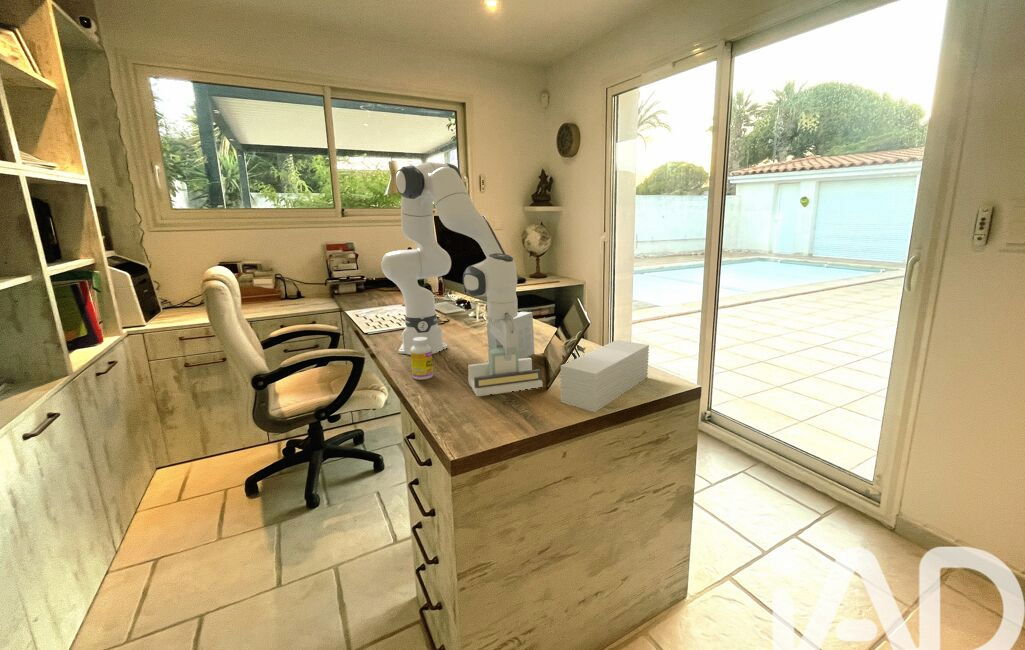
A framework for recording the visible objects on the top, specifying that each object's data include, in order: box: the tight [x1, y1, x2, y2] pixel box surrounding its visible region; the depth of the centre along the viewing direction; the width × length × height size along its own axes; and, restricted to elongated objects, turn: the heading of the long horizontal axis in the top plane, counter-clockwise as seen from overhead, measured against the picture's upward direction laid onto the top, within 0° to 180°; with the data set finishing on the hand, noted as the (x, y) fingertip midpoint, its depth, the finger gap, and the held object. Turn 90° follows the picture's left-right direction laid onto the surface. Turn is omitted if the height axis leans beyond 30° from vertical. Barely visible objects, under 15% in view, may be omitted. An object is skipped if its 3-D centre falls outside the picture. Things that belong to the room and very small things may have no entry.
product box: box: [487, 348, 519, 375], centre depth 132 cm, size 8×5×9 cm, turn 107°
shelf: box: [467, 357, 543, 397], centre depth 133 cm, size 12×20×6 cm, turn 107°
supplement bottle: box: [410, 337, 434, 381], centre depth 141 cm, size 7×7×13 cm
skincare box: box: [486, 311, 535, 359], centre depth 155 cm, size 21×6×16 cm, turn 144°
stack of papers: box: [560, 339, 650, 413], centre depth 127 cm, size 32×11×11 cm, turn 139°
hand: (503, 355), depth 132 cm, fingers open, 8 cm apart
